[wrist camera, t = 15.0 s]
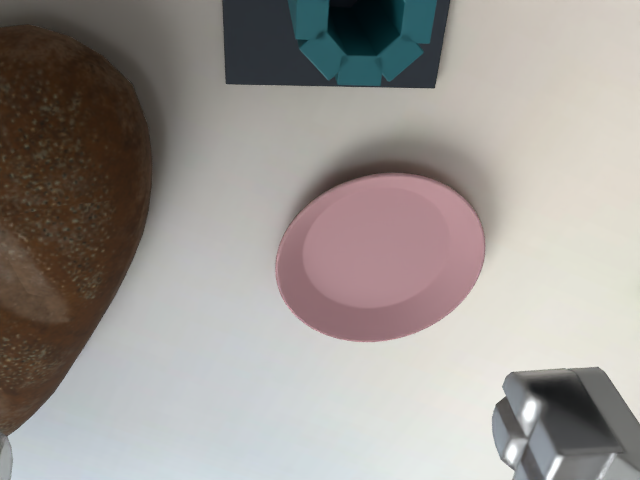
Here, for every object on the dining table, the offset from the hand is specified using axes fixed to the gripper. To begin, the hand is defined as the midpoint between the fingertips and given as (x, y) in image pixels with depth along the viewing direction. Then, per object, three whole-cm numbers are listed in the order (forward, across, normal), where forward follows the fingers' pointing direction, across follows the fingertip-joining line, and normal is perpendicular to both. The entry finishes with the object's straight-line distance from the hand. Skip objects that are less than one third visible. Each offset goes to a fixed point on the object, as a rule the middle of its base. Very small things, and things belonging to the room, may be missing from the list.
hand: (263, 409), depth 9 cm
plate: (+26, -9, +16) cm, 32 cm away
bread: (+26, +18, +17) cm, 36 cm away
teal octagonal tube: (+26, -5, -1) cm, 26 cm away
